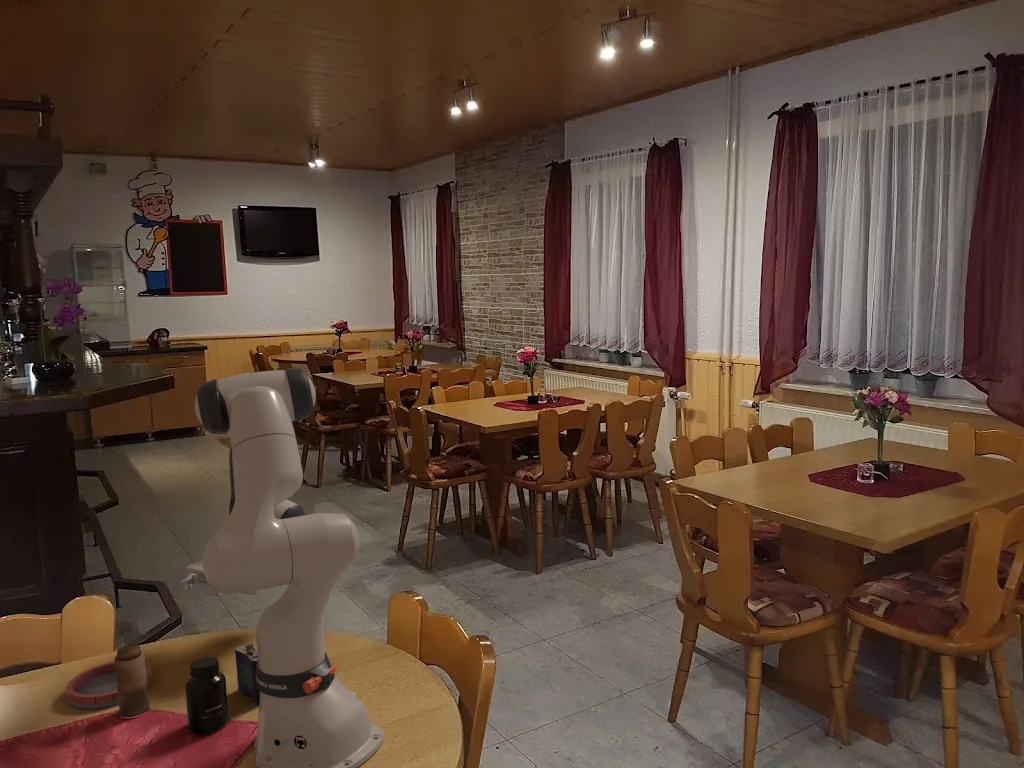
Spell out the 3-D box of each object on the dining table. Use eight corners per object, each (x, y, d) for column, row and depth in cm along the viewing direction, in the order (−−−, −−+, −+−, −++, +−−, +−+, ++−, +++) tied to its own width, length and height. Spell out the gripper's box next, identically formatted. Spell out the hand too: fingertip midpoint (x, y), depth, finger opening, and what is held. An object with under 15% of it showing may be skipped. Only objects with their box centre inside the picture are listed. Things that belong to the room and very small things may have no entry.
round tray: (168, 679, 158) (167, 667, 158) (101, 716, 145) (100, 703, 145) (118, 666, 165) (117, 655, 165) (50, 700, 152) (49, 688, 151)
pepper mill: (155, 707, 147) (149, 646, 146) (132, 721, 143) (126, 658, 142) (137, 702, 150) (131, 642, 148) (114, 715, 145) (107, 653, 144)
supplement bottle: (215, 737, 137) (209, 672, 135) (180, 734, 138) (174, 670, 137) (236, 716, 143) (231, 654, 142) (203, 713, 145) (197, 652, 143)
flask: (235, 691, 153) (231, 639, 151) (249, 685, 155) (245, 634, 154) (257, 707, 146) (253, 653, 145) (272, 701, 148) (268, 648, 147)
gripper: (213, 547, 176) (162, 567, 164) (283, 558, 167) (234, 581, 155) (215, 574, 177) (165, 596, 165) (285, 586, 168) (236, 611, 156)
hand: (199, 589), depth 160 cm, fingers open, 8 cm apart
